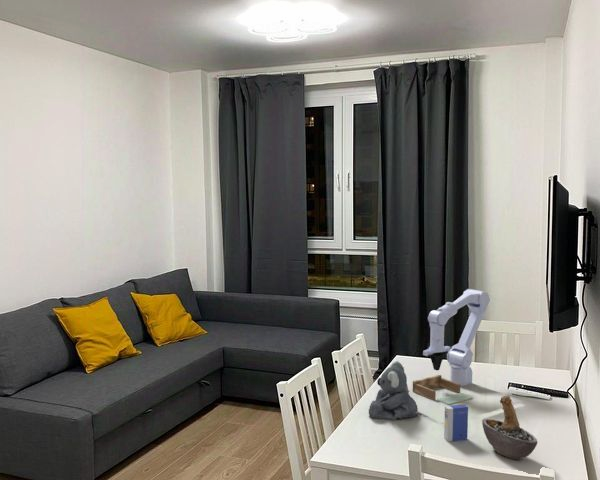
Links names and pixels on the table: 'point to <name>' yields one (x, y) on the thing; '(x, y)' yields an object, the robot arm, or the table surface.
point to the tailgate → (454, 398)
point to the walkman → (456, 422)
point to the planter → (509, 434)
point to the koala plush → (393, 396)
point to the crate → (433, 386)
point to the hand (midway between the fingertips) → (436, 369)
